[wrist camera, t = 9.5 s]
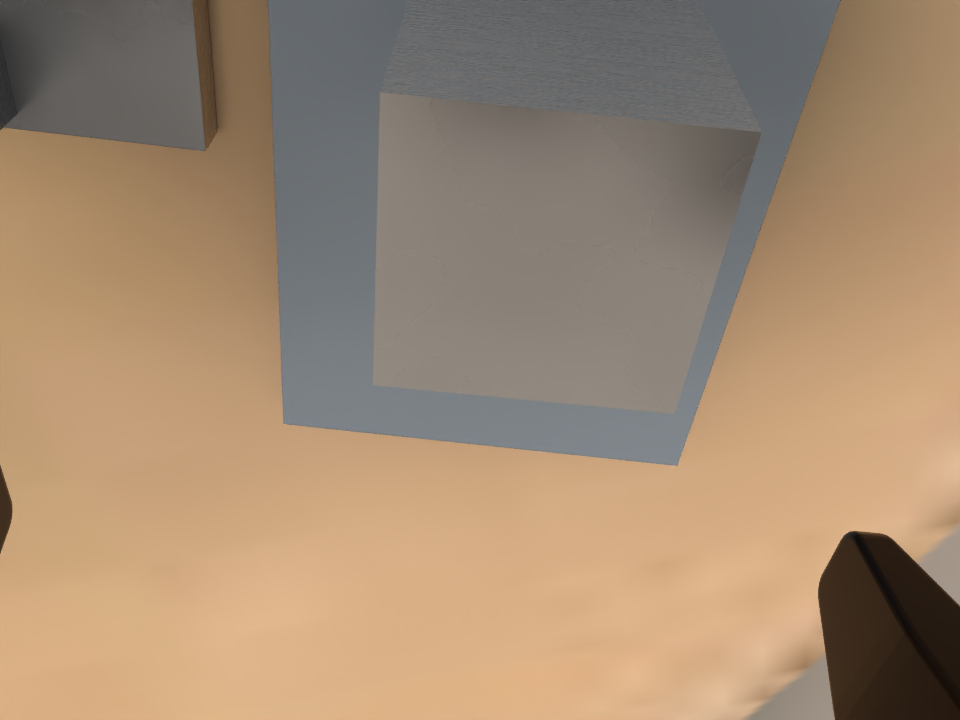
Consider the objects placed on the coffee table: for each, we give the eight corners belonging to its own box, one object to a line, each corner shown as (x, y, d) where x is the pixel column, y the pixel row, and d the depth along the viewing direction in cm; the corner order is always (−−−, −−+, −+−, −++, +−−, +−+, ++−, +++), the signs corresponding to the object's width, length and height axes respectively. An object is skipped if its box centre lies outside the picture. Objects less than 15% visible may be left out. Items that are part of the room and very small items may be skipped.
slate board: (290, 399, 26) (283, 423, 25) (255, -844, 12) (236, -878, 11) (672, 441, 26) (677, 465, 25) (1064, -715, 12) (1100, -738, 12)
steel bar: (420, 145, 20) (372, 385, 13) (434, -79, 17) (379, 92, 11) (627, 167, 20) (674, 414, 13) (674, -53, 17) (762, 132, 11)
